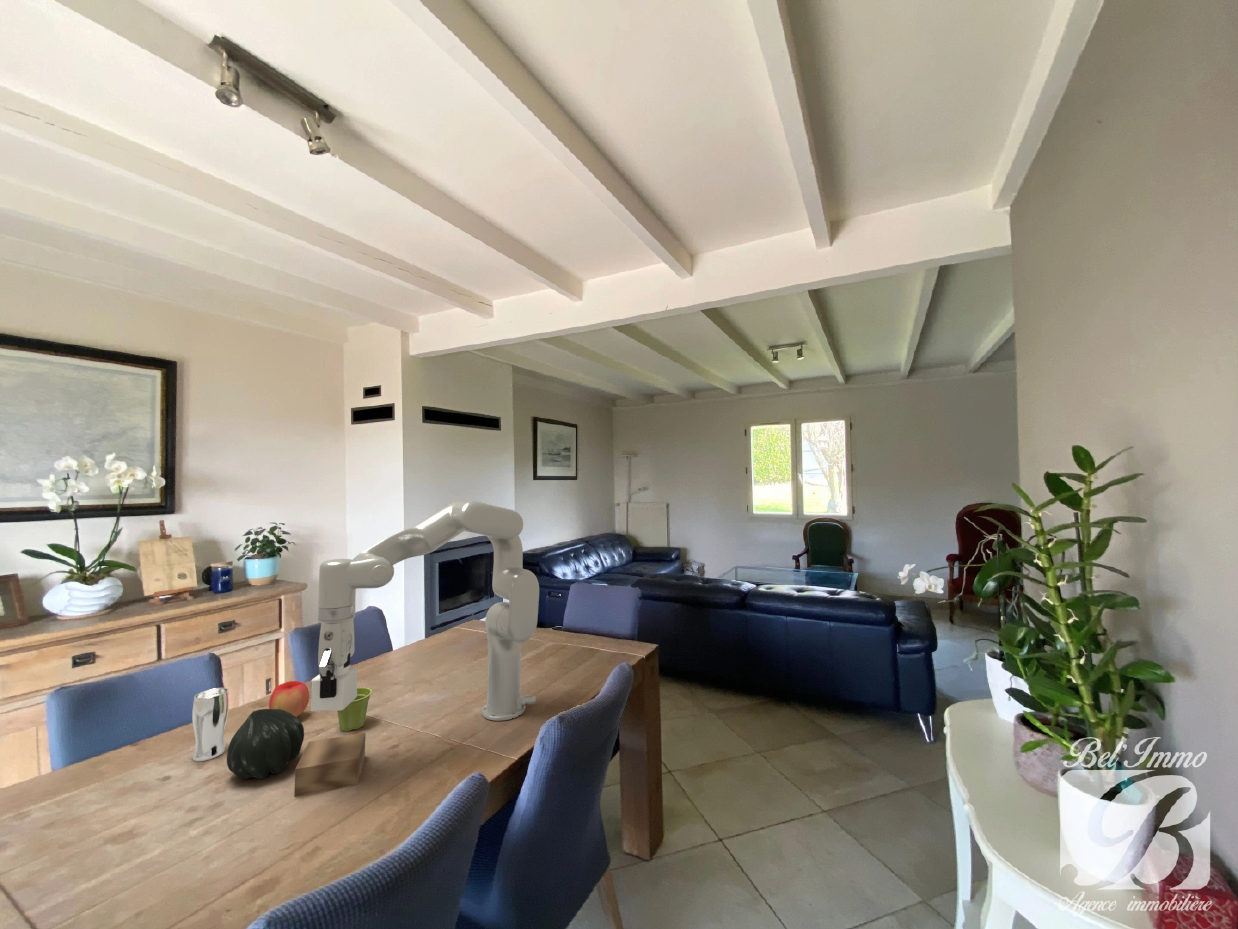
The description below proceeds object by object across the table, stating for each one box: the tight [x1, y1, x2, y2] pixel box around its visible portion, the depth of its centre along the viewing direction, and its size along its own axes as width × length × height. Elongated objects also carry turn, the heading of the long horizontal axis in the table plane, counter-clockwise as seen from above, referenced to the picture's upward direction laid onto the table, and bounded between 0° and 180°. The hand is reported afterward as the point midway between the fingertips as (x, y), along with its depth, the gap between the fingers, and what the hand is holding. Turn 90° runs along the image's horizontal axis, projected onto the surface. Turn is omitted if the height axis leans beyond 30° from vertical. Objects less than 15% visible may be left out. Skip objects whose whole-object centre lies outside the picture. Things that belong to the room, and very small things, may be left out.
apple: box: [268, 680, 310, 718], centre depth 137 cm, size 10×10×10 cm
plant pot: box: [337, 687, 373, 732], centre depth 133 cm, size 9×9×9 cm
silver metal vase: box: [191, 687, 230, 762], centre depth 119 cm, size 7×7×15 cm
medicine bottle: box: [310, 653, 359, 713], centre depth 111 cm, size 7×7×12 cm
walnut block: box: [293, 732, 366, 798], centre depth 110 cm, size 12×12×6 cm
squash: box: [226, 708, 305, 780], centre depth 113 cm, size 14×15×15 cm
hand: (334, 689), depth 111 cm, fingers closed on medicine bottle, 7 cm apart
